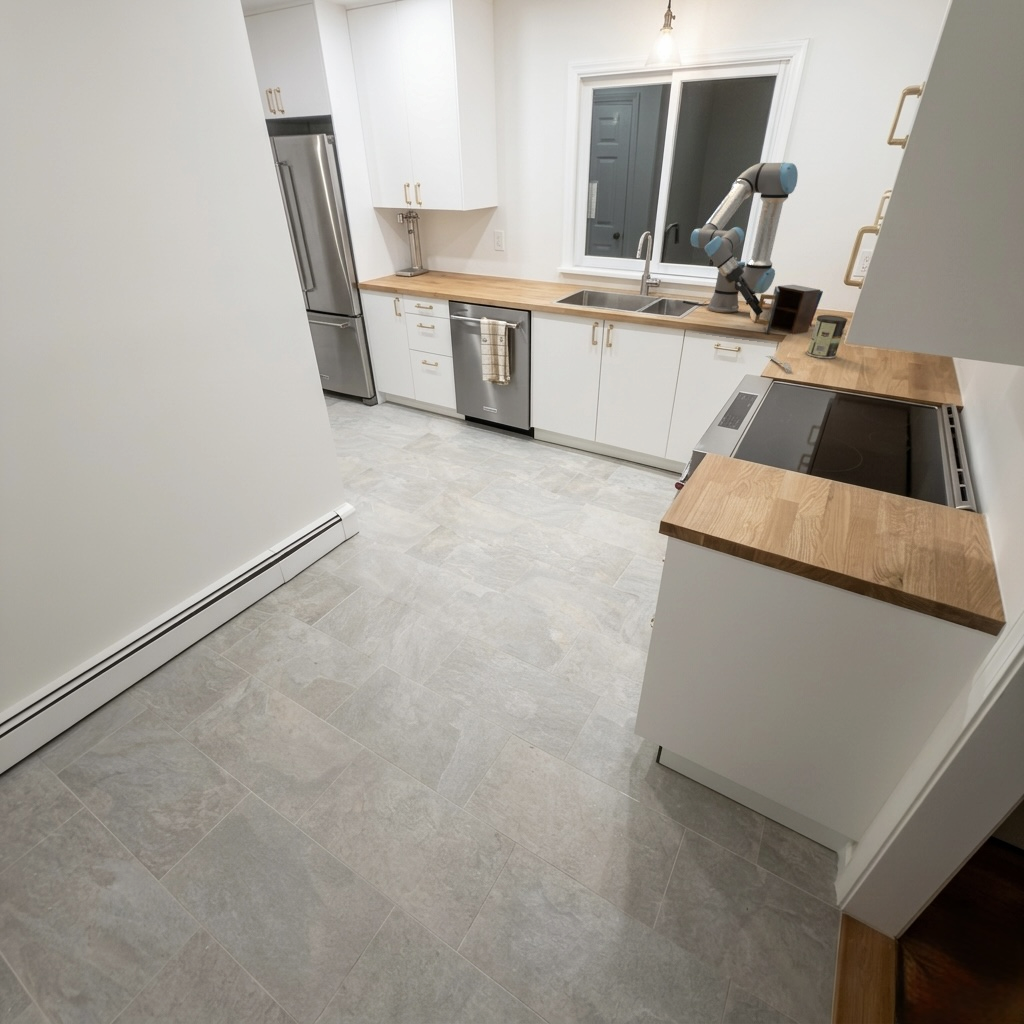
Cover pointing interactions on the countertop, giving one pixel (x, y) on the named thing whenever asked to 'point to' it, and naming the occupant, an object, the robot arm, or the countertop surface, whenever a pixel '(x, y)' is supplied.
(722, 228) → the robot arm
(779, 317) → the cupboard
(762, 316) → the trinket box
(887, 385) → the countertop surface
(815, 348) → the coffee can
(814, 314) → the brown tall block
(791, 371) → the fork
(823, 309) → the countertop surface
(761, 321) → the cupboard door
